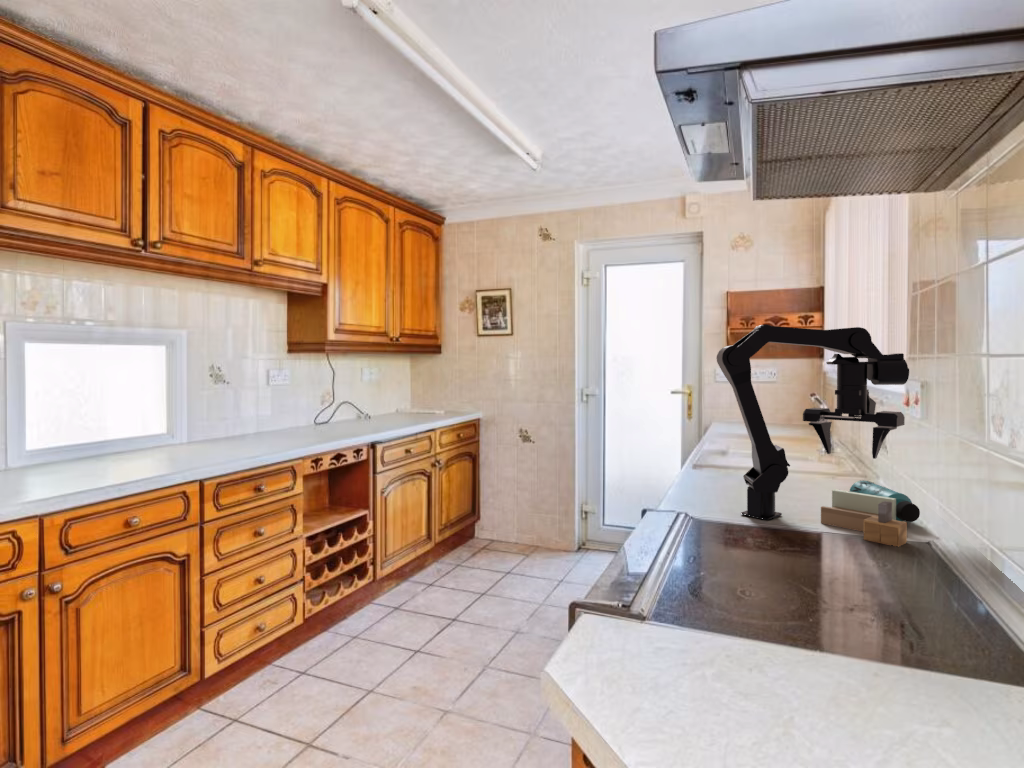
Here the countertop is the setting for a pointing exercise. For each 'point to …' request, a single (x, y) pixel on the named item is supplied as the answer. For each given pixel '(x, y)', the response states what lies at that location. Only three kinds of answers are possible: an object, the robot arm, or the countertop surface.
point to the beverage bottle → (903, 503)
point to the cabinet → (885, 527)
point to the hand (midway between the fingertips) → (851, 456)
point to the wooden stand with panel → (853, 509)
